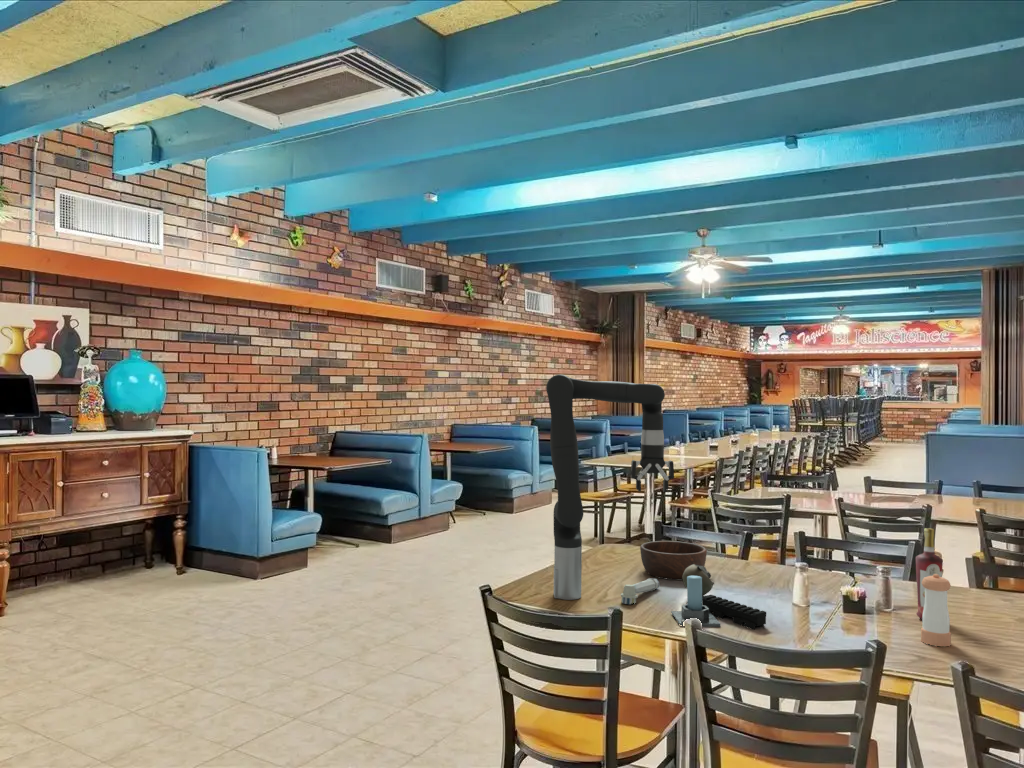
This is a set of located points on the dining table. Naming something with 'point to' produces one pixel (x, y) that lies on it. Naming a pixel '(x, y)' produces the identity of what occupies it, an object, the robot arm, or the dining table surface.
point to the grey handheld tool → (638, 590)
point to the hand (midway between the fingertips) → (652, 491)
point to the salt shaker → (936, 612)
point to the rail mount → (735, 611)
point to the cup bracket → (696, 616)
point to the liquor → (926, 567)
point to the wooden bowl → (671, 558)
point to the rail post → (694, 592)
